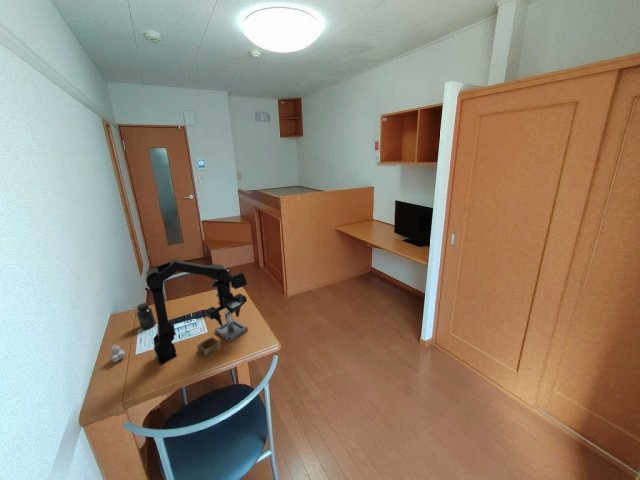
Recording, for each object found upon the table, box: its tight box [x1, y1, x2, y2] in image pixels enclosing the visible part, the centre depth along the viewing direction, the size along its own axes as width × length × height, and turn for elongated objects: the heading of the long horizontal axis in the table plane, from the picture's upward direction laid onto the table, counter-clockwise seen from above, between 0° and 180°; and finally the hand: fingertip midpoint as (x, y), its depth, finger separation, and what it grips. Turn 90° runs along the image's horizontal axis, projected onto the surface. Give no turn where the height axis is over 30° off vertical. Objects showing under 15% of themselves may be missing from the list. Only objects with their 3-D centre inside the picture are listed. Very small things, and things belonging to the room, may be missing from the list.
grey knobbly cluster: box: [108, 343, 126, 363], centre depth 118 cm, size 5×7×8 cm
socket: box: [196, 336, 222, 358], centre depth 121 cm, size 7×7×3 cm
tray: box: [214, 318, 248, 343], centre depth 133 cm, size 10×12×2 cm
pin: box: [223, 309, 235, 332], centre depth 131 cm, size 3×3×10 cm
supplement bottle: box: [136, 302, 157, 330], centre depth 140 cm, size 7×7×12 cm
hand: (229, 321), depth 131 cm, fingers open, 8 cm apart
